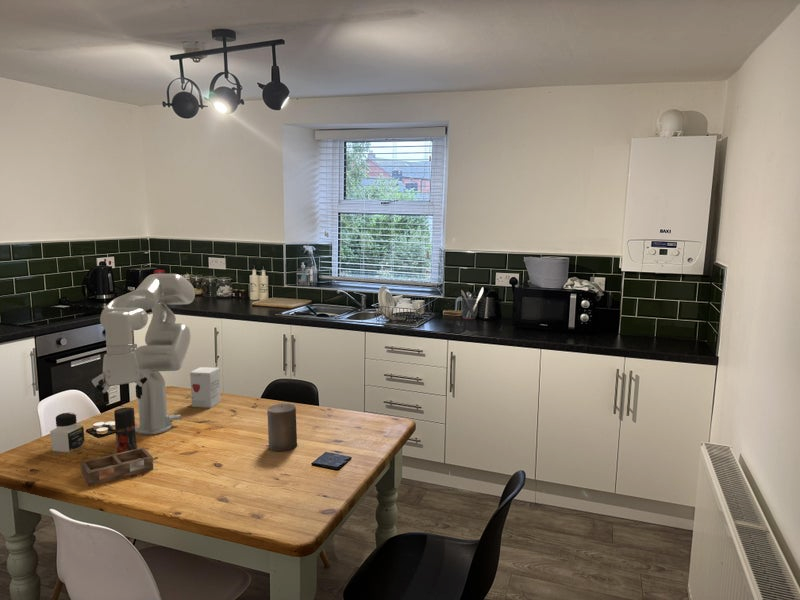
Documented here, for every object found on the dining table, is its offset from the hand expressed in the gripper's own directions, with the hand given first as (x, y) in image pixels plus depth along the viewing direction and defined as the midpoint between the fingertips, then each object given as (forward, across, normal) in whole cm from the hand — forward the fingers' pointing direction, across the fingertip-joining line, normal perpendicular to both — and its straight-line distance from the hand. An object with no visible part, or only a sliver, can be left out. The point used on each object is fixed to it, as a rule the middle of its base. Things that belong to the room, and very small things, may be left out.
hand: (122, 400), depth 188 cm
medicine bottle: (+18, +14, -18) cm, 29 cm away
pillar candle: (+18, -43, +26) cm, 54 cm away
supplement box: (+18, -40, -34) cm, 56 cm away
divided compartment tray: (+18, +6, +12) cm, 23 cm away
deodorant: (+19, 0, 0) cm, 19 cm away
